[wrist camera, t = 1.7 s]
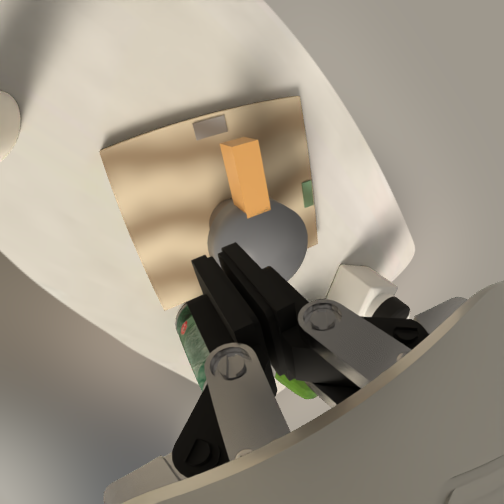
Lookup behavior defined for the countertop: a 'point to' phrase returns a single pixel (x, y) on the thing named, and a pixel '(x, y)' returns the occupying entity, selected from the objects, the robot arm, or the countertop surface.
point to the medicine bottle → (366, 293)
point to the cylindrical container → (8, 124)
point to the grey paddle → (256, 214)
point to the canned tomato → (194, 344)
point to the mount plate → (203, 185)
